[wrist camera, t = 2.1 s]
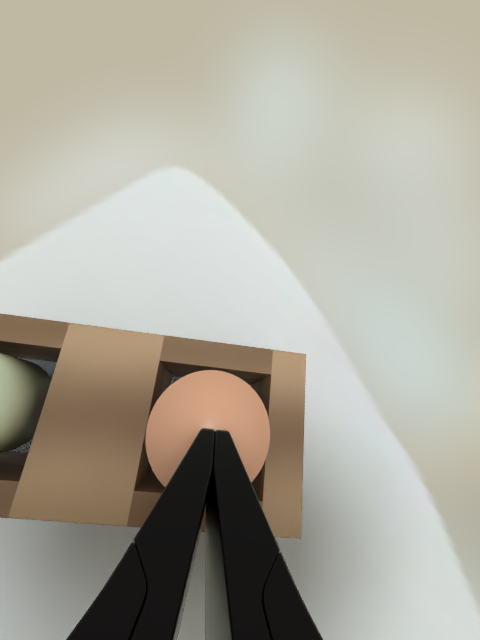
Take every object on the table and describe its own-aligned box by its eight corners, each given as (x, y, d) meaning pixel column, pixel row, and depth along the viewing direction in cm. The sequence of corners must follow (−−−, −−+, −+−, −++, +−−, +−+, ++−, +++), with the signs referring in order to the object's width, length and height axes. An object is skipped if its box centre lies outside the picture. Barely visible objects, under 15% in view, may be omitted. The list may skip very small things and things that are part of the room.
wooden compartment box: (268, 497, 18) (300, 538, 12) (-60, 470, 16) (-204, 502, 10) (276, 370, 20) (305, 354, 14) (-5, 334, 18) (-97, 300, 13)
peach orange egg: (244, 476, 14) (265, 508, 9) (156, 468, 14) (132, 497, 9) (251, 387, 16) (273, 377, 11) (172, 378, 15) (159, 363, 10)
